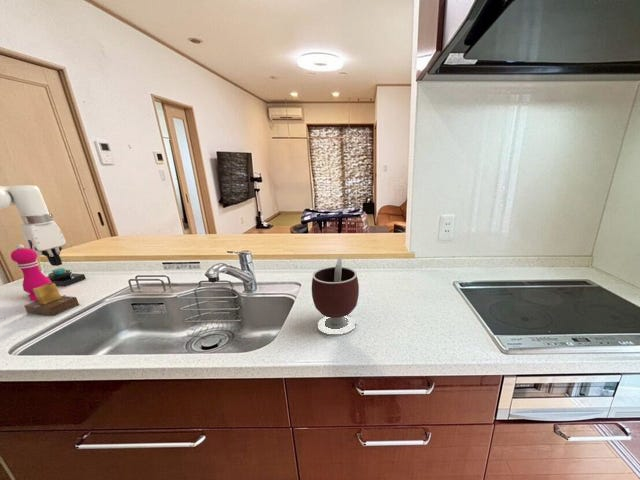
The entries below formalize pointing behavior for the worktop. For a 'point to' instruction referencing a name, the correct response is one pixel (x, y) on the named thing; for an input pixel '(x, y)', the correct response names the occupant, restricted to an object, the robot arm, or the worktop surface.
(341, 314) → the mate gourd
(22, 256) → the pepper mill
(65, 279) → the doorbell
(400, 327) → the worktop surface
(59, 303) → the brown flat block
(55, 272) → the bell button
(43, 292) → the lock turn
